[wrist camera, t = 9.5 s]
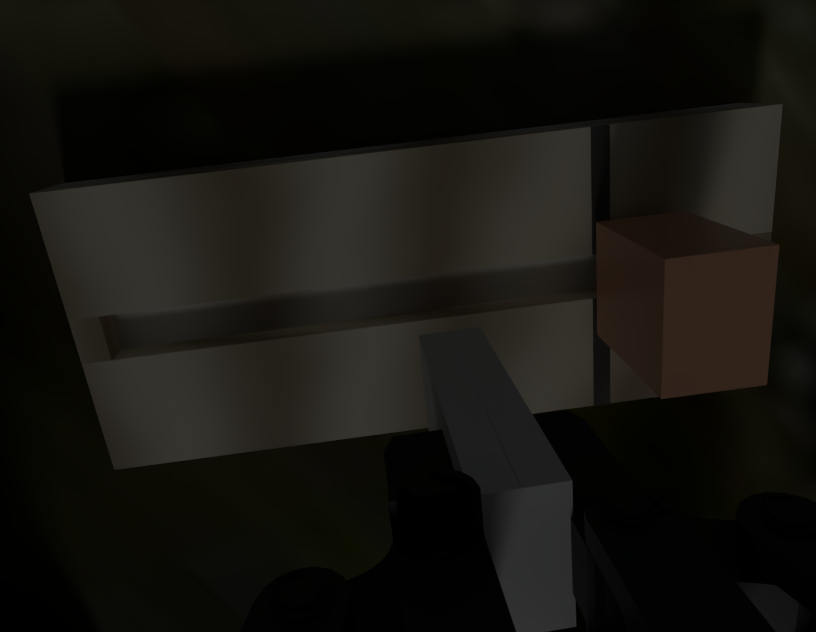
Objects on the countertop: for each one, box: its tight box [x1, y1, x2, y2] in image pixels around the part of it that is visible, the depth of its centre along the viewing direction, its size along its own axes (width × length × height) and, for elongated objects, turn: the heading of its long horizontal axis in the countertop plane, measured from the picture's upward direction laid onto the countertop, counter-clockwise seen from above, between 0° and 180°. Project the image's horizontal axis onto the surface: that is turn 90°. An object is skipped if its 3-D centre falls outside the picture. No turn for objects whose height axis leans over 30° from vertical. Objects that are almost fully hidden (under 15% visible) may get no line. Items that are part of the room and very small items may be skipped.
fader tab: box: [596, 211, 779, 399], centre depth 20 cm, size 3×4×6 cm
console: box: [30, 103, 783, 470], centre depth 23 cm, size 24×10×2 cm, turn 96°
